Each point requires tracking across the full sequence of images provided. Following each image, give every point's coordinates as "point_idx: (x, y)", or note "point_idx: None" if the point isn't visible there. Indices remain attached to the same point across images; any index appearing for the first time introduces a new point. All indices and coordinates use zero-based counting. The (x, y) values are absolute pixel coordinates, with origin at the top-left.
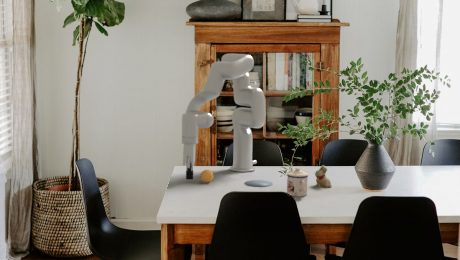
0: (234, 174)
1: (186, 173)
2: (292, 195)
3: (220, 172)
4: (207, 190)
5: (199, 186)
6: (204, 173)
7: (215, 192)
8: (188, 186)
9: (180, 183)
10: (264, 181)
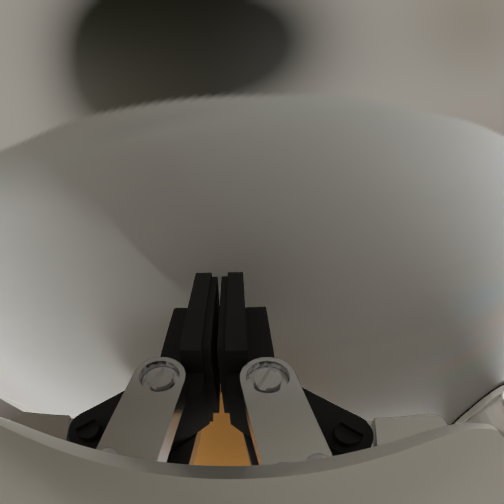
0: None
1: (187, 324)
2: None
3: (477, 380)
4: (34, 384)
5: (88, 362)
6: None
7: (29, 403)
8: (51, 291)
9: (135, 198)
10: None
